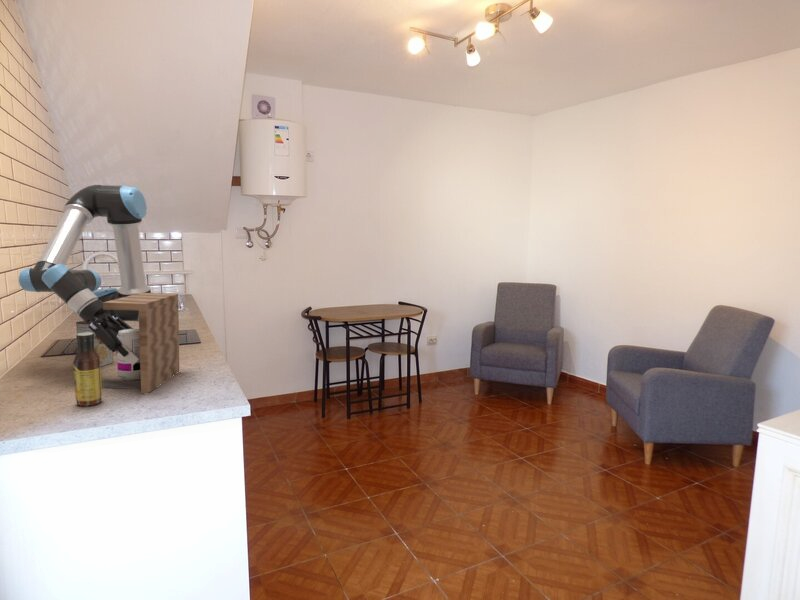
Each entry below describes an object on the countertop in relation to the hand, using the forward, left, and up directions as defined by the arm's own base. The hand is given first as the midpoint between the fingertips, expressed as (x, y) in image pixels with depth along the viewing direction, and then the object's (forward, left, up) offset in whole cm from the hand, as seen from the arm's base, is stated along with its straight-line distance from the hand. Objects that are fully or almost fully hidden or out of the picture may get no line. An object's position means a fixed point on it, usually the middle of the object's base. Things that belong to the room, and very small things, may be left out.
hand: (142, 358), depth 158 cm
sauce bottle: (+21, -5, -8) cm, 23 cm away
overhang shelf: (0, -1, -8) cm, 8 cm away
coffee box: (-18, -24, -8) cm, 31 cm away
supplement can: (0, -3, -6) cm, 7 cm away
